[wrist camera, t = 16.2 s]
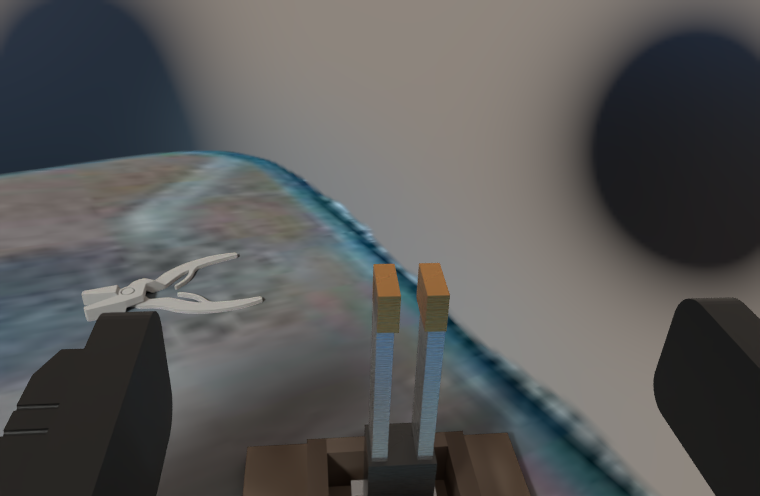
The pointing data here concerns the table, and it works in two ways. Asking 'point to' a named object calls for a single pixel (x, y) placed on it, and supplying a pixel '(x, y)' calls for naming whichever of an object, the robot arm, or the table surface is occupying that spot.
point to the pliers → (135, 292)
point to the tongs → (414, 440)
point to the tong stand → (346, 462)
